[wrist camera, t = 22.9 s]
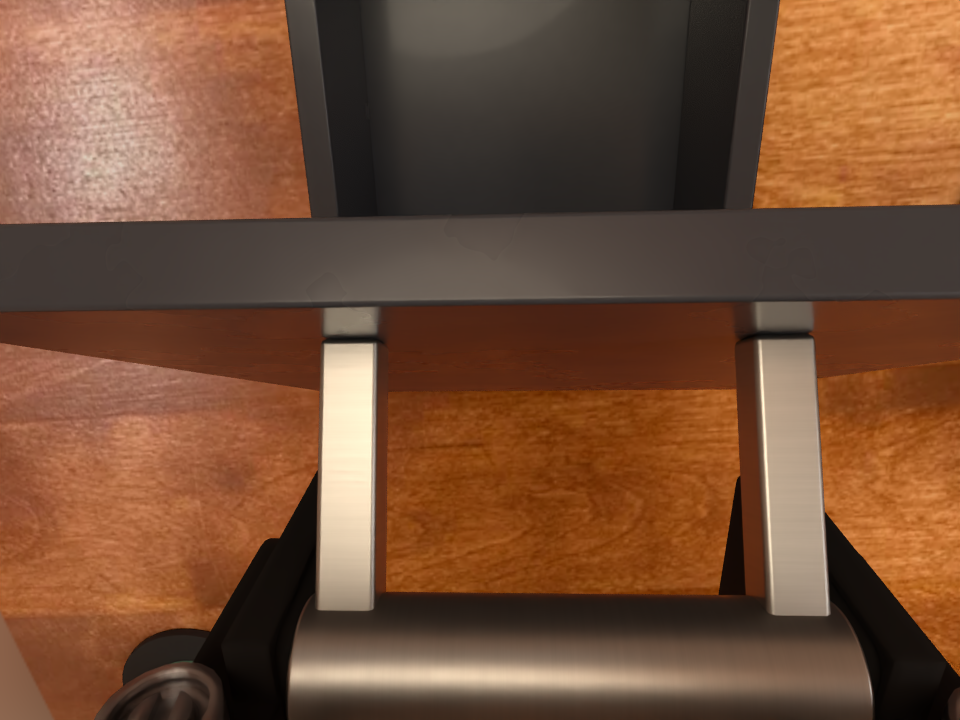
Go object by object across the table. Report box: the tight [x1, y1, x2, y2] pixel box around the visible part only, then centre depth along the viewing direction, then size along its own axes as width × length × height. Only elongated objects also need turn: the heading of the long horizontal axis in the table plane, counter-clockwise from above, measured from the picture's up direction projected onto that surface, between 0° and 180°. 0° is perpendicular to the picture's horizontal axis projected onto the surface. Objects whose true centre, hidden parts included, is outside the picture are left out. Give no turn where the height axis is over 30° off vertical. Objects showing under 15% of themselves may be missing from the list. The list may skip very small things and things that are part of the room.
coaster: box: [123, 629, 210, 686], centre depth 37 cm, size 9×9×1 cm
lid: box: [0, 204, 960, 720], centre depth 13 cm, size 16×14×5 cm
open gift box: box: [284, 0, 780, 218], centre depth 22 cm, size 15×14×7 cm
